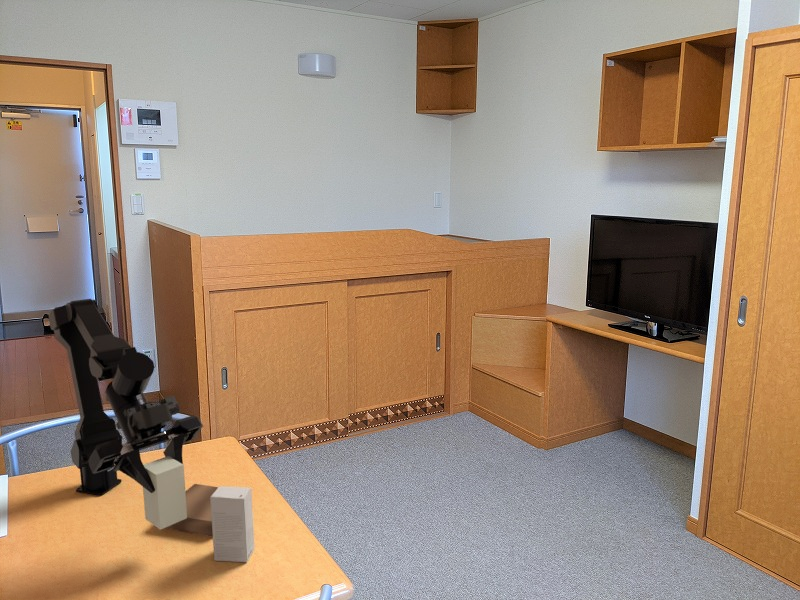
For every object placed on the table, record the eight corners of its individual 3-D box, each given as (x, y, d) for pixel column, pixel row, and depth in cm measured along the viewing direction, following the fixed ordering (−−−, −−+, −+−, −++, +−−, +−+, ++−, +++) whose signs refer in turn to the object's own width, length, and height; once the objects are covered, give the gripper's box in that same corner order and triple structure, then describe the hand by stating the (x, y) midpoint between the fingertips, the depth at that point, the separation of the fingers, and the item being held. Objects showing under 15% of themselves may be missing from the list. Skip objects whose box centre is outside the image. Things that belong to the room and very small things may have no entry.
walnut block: (160, 530, 124) (158, 512, 123) (195, 499, 135) (194, 483, 134) (217, 539, 120) (216, 522, 120) (248, 507, 132) (247, 491, 131)
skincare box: (255, 549, 117) (252, 486, 114) (247, 563, 113) (244, 499, 110) (222, 547, 117) (218, 485, 115) (213, 561, 113) (209, 497, 111)
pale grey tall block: (145, 519, 114) (141, 465, 112) (171, 508, 117) (168, 455, 115) (160, 529, 110) (156, 474, 108) (187, 518, 114) (183, 464, 112)
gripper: (89, 399, 105) (128, 485, 100) (194, 372, 119) (232, 447, 114) (73, 432, 112) (108, 514, 107) (173, 403, 125) (209, 474, 120)
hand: (168, 486), depth 112 cm, fingers closed on pale grey tall block, 5 cm apart
